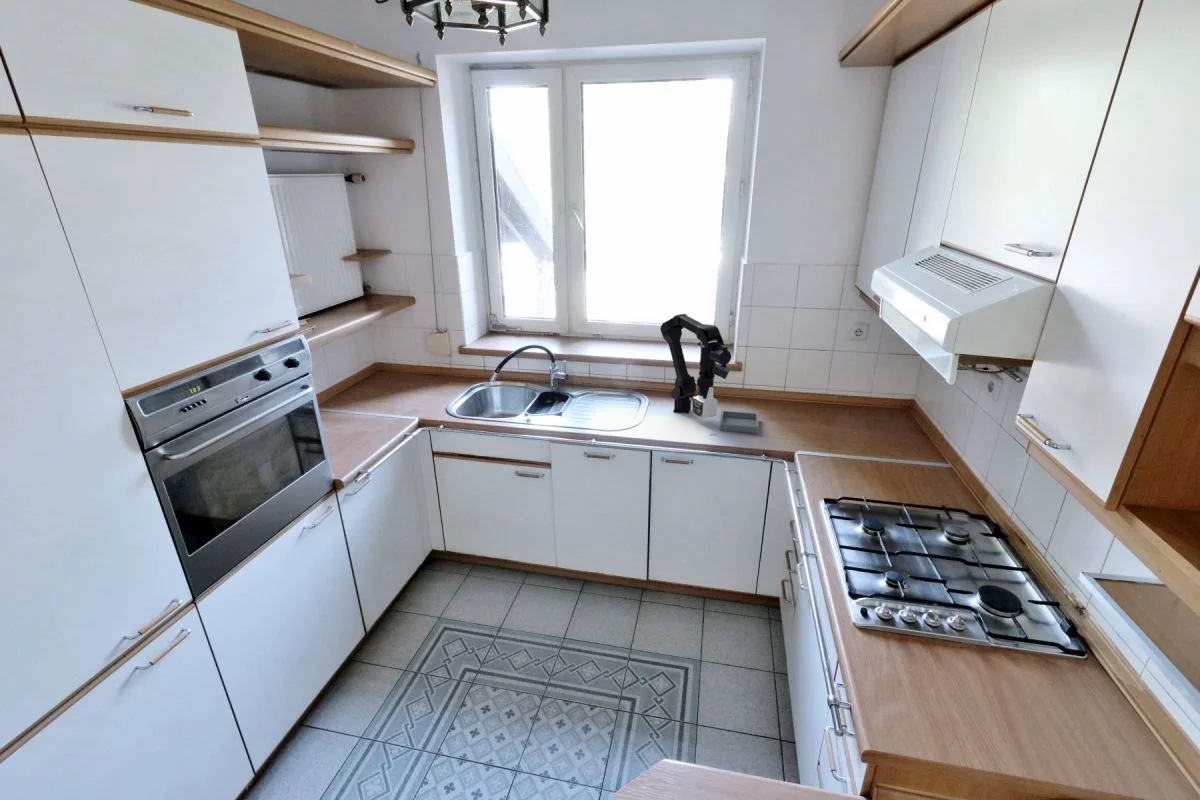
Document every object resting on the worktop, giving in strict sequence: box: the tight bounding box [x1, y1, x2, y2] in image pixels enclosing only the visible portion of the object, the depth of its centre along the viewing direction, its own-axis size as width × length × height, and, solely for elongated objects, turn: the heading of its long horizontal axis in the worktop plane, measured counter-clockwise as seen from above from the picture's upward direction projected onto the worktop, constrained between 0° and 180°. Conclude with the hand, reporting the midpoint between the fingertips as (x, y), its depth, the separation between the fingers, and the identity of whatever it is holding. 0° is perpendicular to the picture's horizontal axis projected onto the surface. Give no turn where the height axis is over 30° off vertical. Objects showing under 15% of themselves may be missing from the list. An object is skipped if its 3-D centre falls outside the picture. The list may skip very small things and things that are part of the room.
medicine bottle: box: [691, 386, 718, 420], centre depth 226 cm, size 7×7×12 cm
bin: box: [719, 409, 760, 435], centre depth 225 cm, size 15×15×3 cm
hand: (705, 396), depth 225 cm, fingers closed on medicine bottle, 6 cm apart
